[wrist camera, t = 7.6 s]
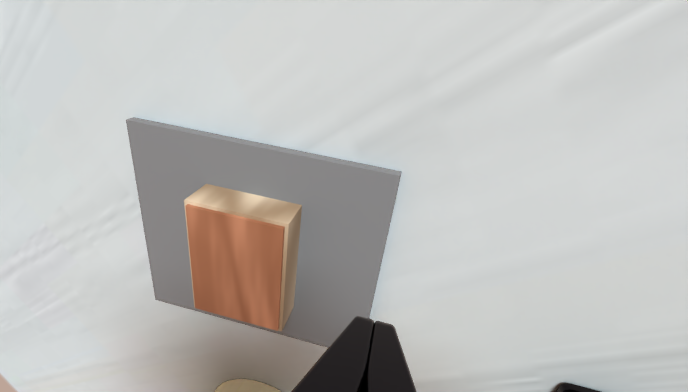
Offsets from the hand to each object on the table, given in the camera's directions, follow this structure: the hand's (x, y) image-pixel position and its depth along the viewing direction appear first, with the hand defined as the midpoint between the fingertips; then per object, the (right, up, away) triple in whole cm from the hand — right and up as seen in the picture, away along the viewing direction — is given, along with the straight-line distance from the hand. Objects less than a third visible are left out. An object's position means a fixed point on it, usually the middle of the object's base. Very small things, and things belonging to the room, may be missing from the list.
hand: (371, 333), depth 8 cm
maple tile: (-4, -1, +13) cm, 14 cm away
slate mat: (-6, 0, +15) cm, 16 cm away
